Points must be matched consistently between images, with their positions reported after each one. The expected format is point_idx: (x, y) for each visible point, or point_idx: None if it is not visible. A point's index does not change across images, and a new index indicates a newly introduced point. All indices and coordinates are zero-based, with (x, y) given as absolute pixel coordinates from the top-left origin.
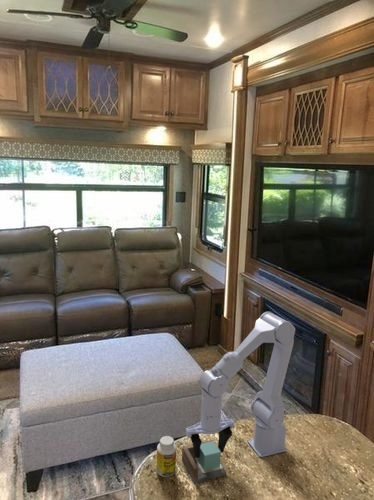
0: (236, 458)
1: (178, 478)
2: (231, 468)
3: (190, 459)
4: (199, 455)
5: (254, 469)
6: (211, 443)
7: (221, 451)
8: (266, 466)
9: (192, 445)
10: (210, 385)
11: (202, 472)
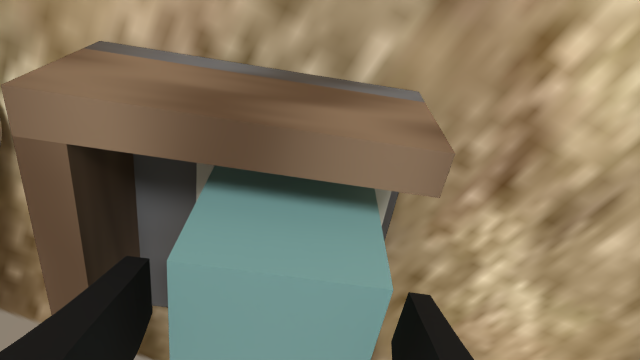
0: (539, 234)
1: (24, 208)
2: (429, 287)
3: (57, 292)
4: (135, 346)
5: (548, 345)
6: (341, 308)
7: (392, 355)
8: (631, 356)
9: (149, 127)
10: None
11: None
